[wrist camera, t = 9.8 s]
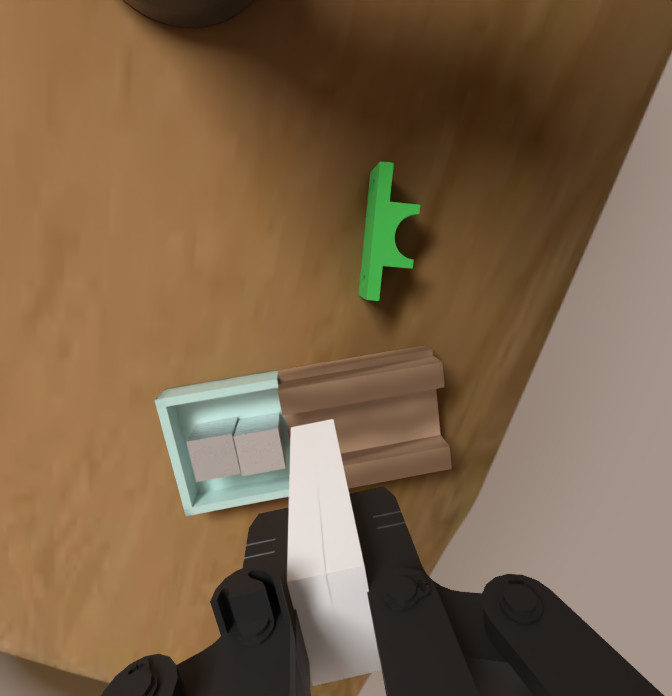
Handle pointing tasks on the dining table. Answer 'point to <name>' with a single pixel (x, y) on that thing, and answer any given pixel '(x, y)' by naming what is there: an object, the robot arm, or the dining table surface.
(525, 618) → the robot arm
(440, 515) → the dining table surface
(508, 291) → the dining table surface
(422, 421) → the slot board
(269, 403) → the tray
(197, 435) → the chip
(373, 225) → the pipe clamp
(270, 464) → the chip
